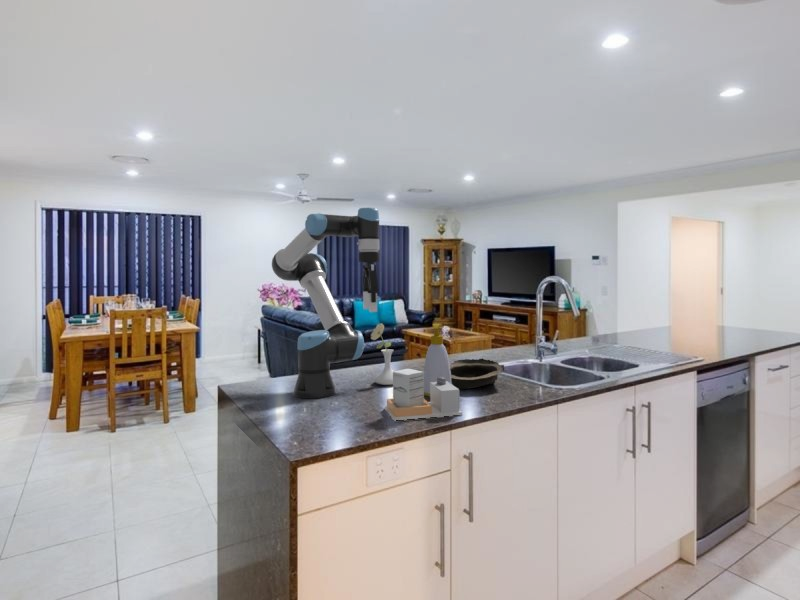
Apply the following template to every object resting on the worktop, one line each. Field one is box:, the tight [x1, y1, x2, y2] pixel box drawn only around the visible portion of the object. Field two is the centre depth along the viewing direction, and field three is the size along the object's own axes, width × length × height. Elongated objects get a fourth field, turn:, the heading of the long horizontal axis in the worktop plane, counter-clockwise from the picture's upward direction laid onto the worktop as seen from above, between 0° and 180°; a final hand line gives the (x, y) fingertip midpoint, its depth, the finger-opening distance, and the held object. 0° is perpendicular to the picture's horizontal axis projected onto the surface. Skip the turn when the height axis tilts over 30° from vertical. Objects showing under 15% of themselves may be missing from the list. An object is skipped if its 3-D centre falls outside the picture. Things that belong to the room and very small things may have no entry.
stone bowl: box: [450, 357, 505, 390], centre depth 187 cm, size 25×25×9 cm
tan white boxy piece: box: [384, 377, 463, 422], centre depth 153 cm, size 22×14×10 cm, turn 103°
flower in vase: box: [370, 323, 395, 386], centre depth 192 cm, size 13×11×25 cm
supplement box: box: [392, 368, 425, 408], centre depth 152 cm, size 7×7×13 cm
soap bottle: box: [423, 323, 453, 398], centre depth 175 cm, size 11×12×26 cm
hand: (370, 310), depth 172 cm, fingers open, 13 cm apart
